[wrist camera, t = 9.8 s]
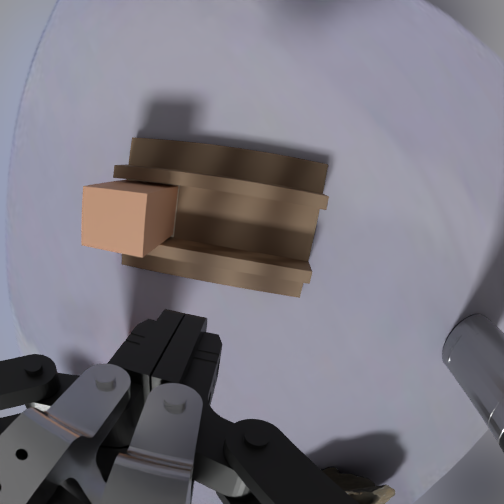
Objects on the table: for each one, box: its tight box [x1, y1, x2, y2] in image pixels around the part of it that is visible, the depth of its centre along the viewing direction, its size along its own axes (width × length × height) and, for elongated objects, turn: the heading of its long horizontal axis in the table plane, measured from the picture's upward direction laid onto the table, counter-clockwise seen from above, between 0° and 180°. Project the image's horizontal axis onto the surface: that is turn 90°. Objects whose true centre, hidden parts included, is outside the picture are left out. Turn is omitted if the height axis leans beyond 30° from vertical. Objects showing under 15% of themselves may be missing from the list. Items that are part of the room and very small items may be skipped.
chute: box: [113, 138, 329, 298], centre depth 28 cm, size 20×14×4 cm
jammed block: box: [82, 180, 178, 258], centre depth 25 cm, size 6×5×8 cm
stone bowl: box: [321, 467, 395, 504], centre depth 40 cm, size 25×25×9 cm
